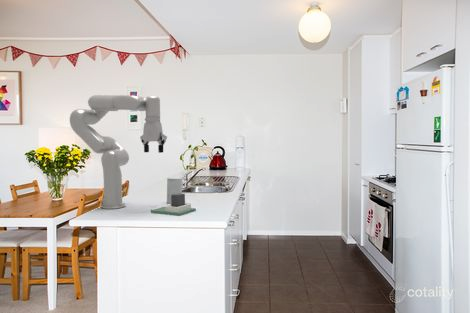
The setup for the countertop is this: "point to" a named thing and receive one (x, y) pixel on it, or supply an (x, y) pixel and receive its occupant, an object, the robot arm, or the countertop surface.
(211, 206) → the countertop surface
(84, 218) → the countertop surface
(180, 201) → the dark gray block
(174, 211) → the header board
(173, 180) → the skincare box
